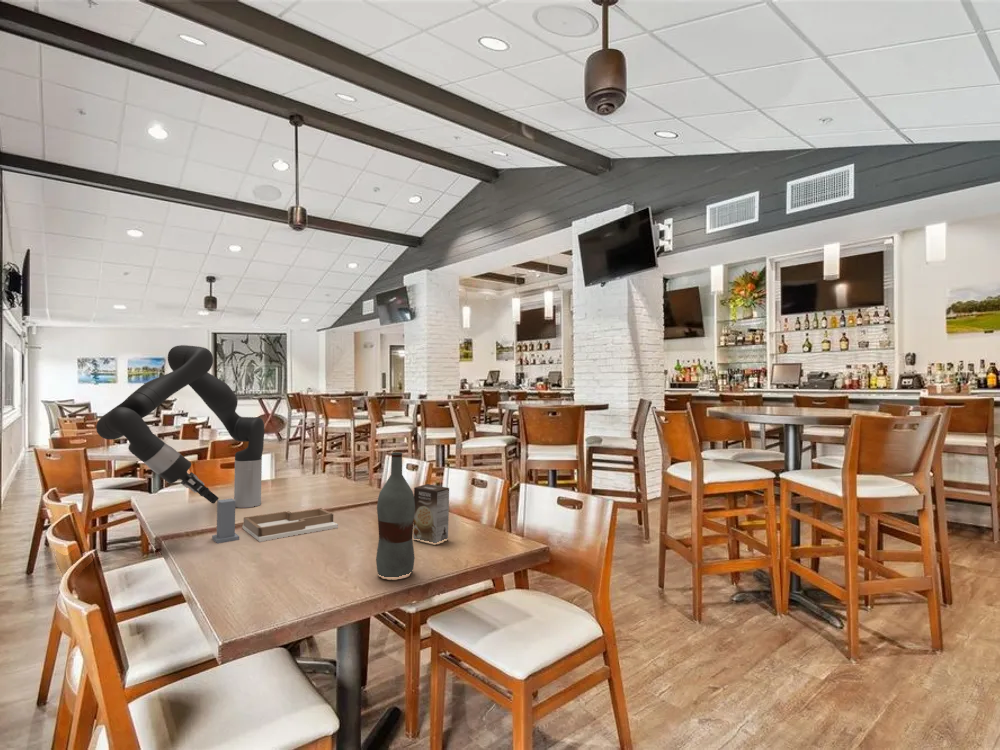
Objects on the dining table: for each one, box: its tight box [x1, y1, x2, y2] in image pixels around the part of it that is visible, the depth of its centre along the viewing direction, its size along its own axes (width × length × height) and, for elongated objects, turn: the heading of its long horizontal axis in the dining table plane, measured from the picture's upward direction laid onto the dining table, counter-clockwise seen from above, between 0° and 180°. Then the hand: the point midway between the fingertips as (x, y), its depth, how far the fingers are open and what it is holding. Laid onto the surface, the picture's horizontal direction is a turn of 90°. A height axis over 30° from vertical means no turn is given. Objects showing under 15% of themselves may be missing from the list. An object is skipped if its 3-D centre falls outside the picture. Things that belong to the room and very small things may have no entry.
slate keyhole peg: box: [211, 498, 240, 544], centre depth 158 cm, size 6×6×12 cm
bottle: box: [375, 451, 416, 577], centre depth 131 cm, size 9×9×30 cm
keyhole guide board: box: [242, 507, 339, 543], centre depth 170 cm, size 18×24×4 cm
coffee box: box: [412, 483, 450, 543], centre depth 159 cm, size 9×6×16 cm
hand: (212, 498), depth 156 cm, fingers open, 8 cm apart
